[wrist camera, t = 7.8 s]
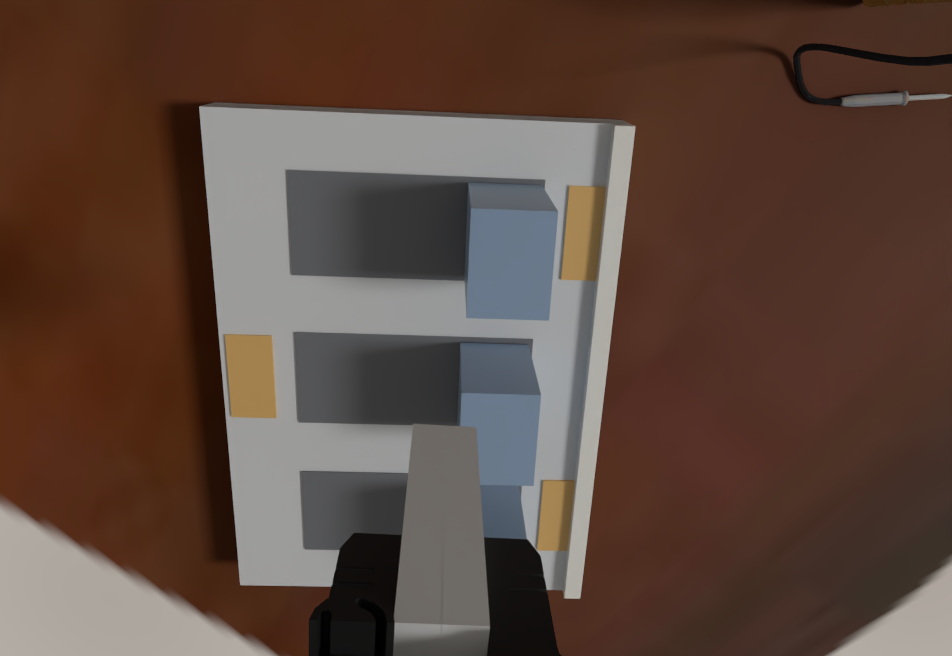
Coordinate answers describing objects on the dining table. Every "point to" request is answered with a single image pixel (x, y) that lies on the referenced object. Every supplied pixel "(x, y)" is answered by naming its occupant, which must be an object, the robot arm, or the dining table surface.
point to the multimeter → (875, 99)
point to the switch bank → (394, 315)
